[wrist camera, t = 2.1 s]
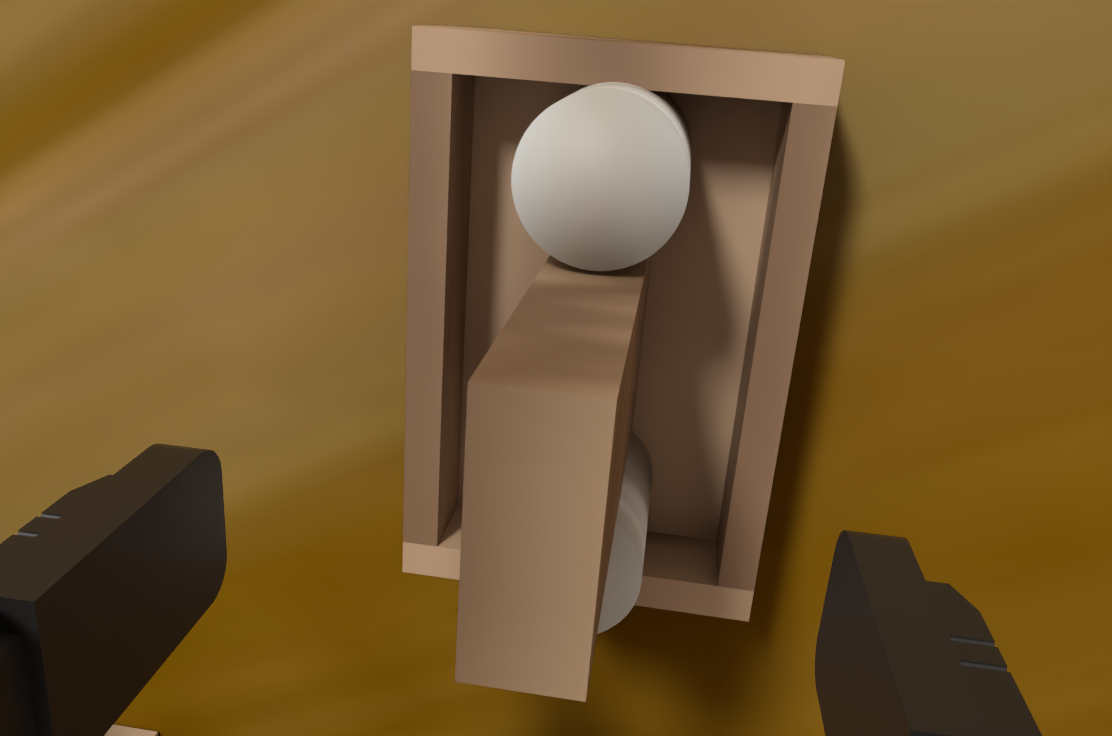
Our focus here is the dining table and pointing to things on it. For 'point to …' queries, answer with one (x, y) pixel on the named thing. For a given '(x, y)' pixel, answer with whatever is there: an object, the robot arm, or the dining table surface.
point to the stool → (129, 731)
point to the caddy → (600, 329)
